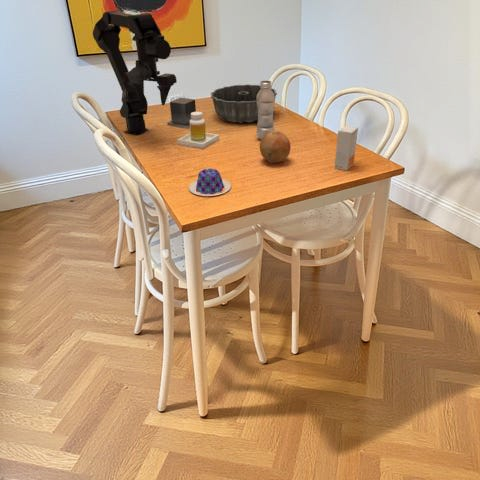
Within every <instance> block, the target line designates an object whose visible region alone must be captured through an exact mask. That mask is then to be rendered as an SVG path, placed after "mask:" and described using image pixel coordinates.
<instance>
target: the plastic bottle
mask: <svg viewBox="0 0 480 480" xmlns="http://www.w3.org/2000/svg"><path fill="white" fill-rule="evenodd" d="M259 83H260V84H259V85H260V88H261V90H260V91H259V92H258V94H257V97H256V100H257V107H258V121H257V125H256V131H255V132H256V138H257V139H258V140H260V141H261V140H262V138H263V136H264V135H265V134H266V133H267V132H270V131H275V125H274V108H275V103H276V97H275V96H274V94H273V92H272V90H271V88H272V81H270V80H261V81H260V82H259ZM274 102H275V103H274Z"/></svg>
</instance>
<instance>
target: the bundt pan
mask: <svg viewBox="0 0 480 480" xmlns="http://www.w3.org/2000/svg"><path fill="white" fill-rule="evenodd" d="M260 90H261V88H260V84H235V85H230V86H223V87H221V88H220V87H219V88H217V89H214V90H213V92H212V91H211V92H210V98H211V99H212V103H213V107H214V110H215V114H216V115H217V116H218V117H219V118H220V119H222V120H223V121H226V122H231V123H237V122H238V123H240V124H243V123H253V122H258V107H257V100H256V97H257V94H258V92H259V91H260ZM271 90H272V92H273V94H274V96H275V98H276V96H277V95H278V92H276V91H277V90H276V89H275V88H272V87H271ZM275 103H276V101H275V102H274V104H275Z"/></svg>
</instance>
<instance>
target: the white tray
mask: <svg viewBox="0 0 480 480" xmlns="http://www.w3.org/2000/svg"><path fill="white" fill-rule="evenodd" d="M219 140H220V135H219V134H216V133H212V132H211V133H210V132H206V140H205V141H204V142H200V143H199V142H193V141H191V136H190V132H189V133H187V134H186V135H183V136H182V137H180V138H178V139H177V144H178V146H184V147H189V148H190V147H191V148H195V149H200V150H205V149H207V147H209V146H211V145H213V144H214V143H216V142H218V141H219Z"/></svg>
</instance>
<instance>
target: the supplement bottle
mask: <svg viewBox="0 0 480 480" xmlns="http://www.w3.org/2000/svg"><path fill="white" fill-rule="evenodd" d="M191 118H192V119H191V120H190V128H189V133H190V136H191V141H193V142H199V143H200V142H204V141H205V140H206V133H207V132H206V121H205V119H204V117H203V112H202V111H196V112H192V113H191Z"/></svg>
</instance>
